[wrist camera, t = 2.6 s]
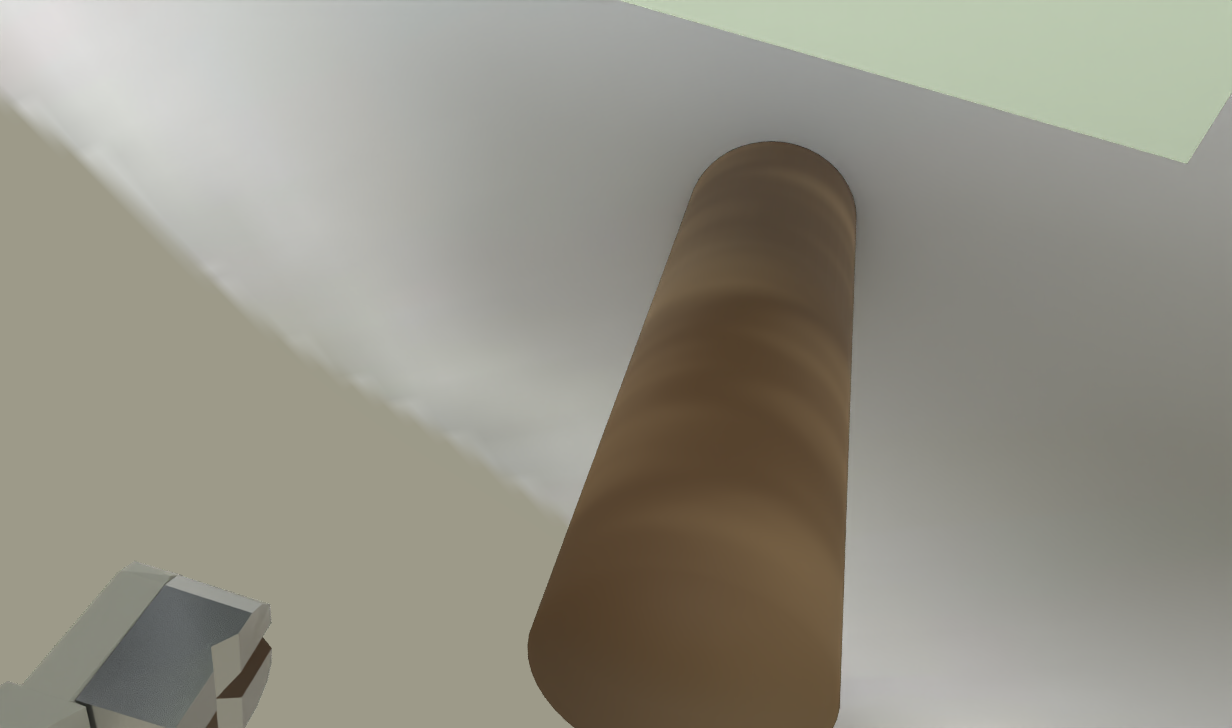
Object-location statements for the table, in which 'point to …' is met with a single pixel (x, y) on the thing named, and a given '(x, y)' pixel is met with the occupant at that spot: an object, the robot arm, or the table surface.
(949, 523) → the table surface
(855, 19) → the nook
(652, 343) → the peg
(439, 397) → the table surface
